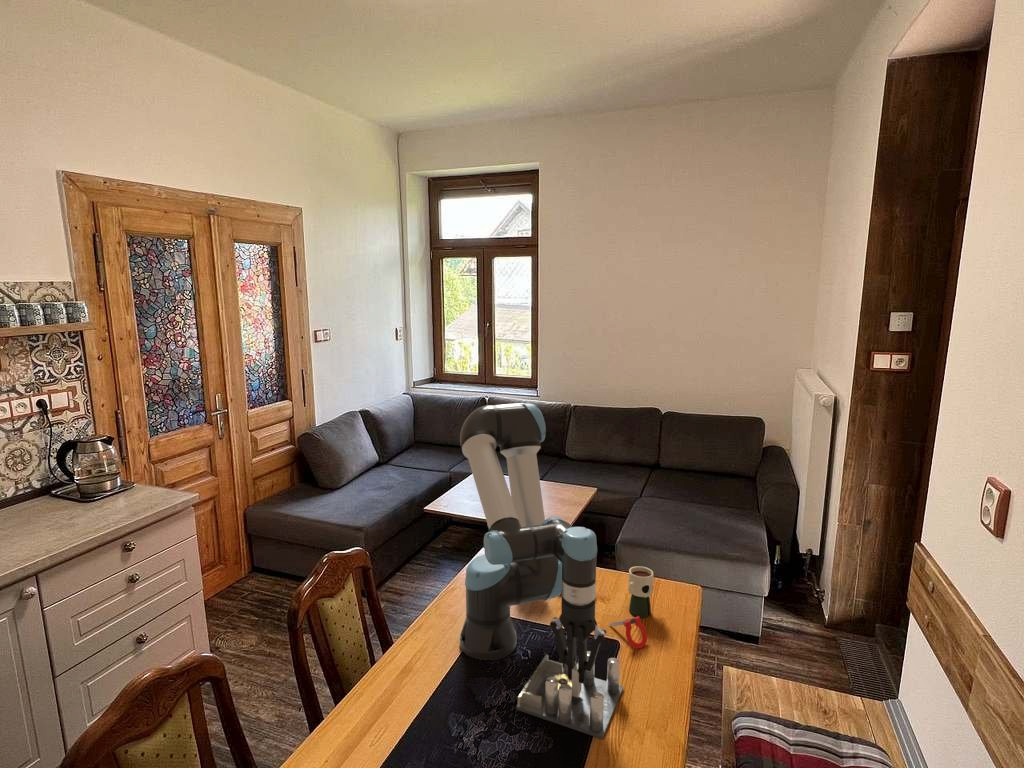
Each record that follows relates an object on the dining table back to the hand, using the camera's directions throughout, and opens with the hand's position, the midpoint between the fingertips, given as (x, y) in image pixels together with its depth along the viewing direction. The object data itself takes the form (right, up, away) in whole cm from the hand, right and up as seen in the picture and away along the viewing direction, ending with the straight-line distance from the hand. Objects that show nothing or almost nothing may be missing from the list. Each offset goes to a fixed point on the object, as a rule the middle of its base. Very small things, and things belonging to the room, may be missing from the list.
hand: (576, 692), depth 129 cm
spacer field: (-1, -2, +1) cm, 2 cm away
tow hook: (+17, -1, +23) cm, 29 cm away
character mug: (+23, +3, +36) cm, 43 cm away
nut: (-3, -1, +1) cm, 3 cm away
